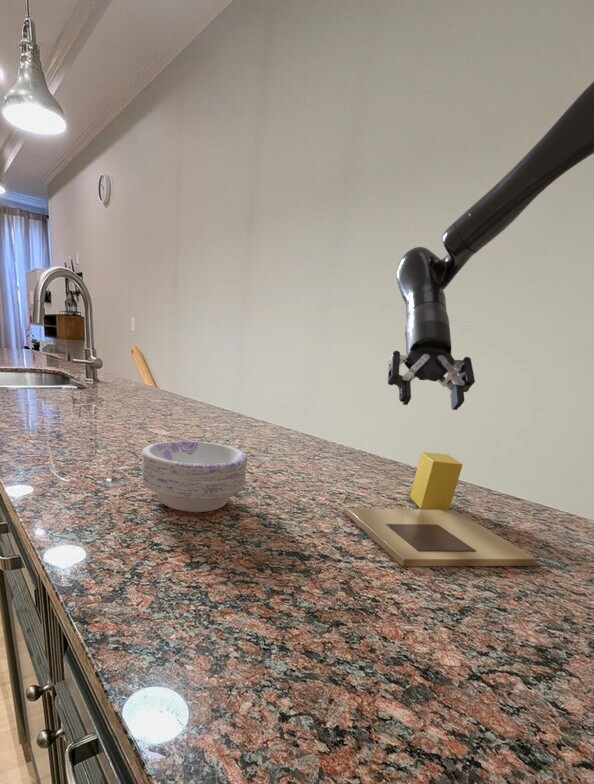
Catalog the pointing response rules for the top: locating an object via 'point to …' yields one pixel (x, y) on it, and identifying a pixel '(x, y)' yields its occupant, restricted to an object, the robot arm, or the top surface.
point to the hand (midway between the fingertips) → (431, 404)
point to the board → (437, 538)
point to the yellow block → (435, 481)
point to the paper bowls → (193, 474)
